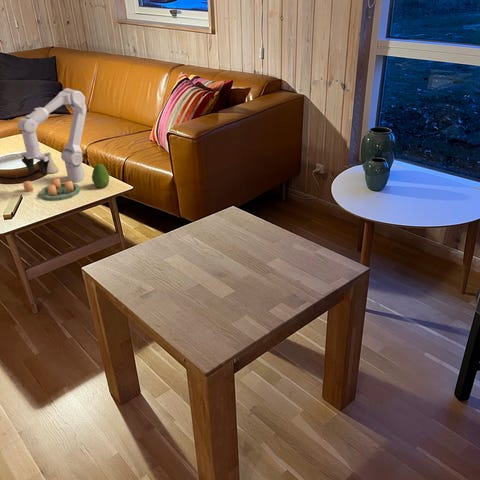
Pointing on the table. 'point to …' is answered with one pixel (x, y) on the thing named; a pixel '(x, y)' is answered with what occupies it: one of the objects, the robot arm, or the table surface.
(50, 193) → the pale orange egg
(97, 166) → the avocado
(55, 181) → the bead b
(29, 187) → the brown egg
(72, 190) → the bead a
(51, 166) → the flask
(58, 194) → the tray
